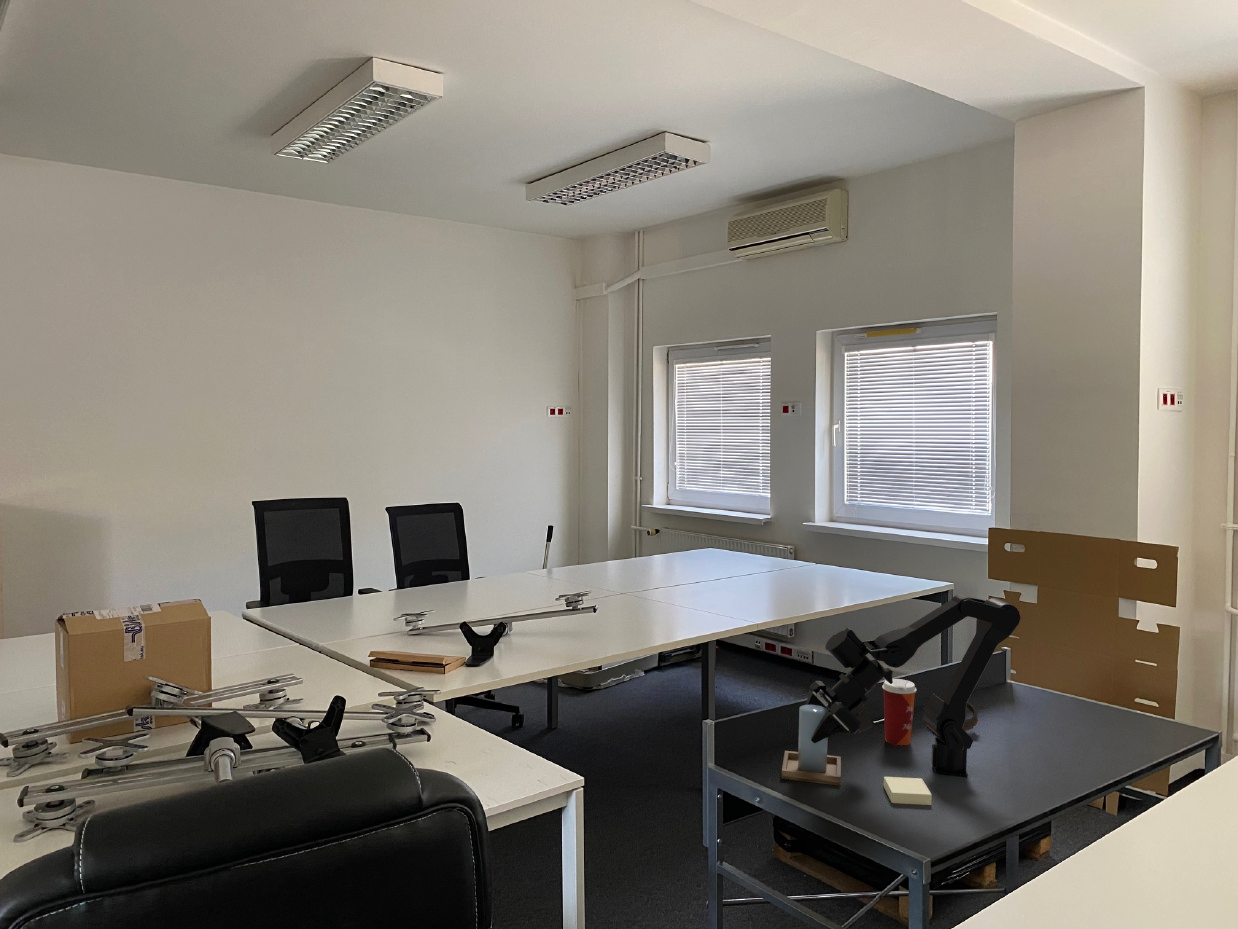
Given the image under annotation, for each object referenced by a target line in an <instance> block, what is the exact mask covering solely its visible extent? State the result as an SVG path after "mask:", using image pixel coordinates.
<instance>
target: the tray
mask: <svg viewBox="0 0 1238 929" xmlns="http://www.w3.org/2000/svg"><path fill="white" fill-rule="evenodd" d="M841 759H842V758H841V756H838V755H829V754H827V771H826V772H825V773H824V774H823V773H814V772H806V771H800V770H799V769H798V751H792V750H791V751H789V750H784V755H783V761H782V766H781V779H782V780H788V779H789V780H791V781H798V782H805V783H807V782H808V783H814V784H815V783H816V784H817V783H818V784H824V785H834V786H841V780H842V779H841V778H842V777H841V776H842V774H841V773H842V770H841V769H842V767H841V766H842V765H841V764H842V760H841Z"/></svg>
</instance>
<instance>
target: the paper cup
mask: <svg viewBox="0 0 1238 929" xmlns="http://www.w3.org/2000/svg"><path fill="white" fill-rule="evenodd" d="M892 680H893V683H892V684H890V683H888V682H887V681H886V680H885V679H884V682H883V684H882V686H881V688H882V689H883V712H884V713H883V717H884V718H883V720H884V738H885V742H886V743H887V742H888V744H890V745H892V746H897V745H901V746H900V747H903V746H902V745H906V746H909V745H910V744H911V737H912V736H911V735H912V727H913V717H914V706H915V705H914V704H915V697H916V696H915V695H916V693H917V687H916V685H915V683H914V682H912V681H910V680H907V679H906V680H905V679H900V678H892Z"/></svg>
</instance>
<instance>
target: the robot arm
mask: <svg viewBox="0 0 1238 929" xmlns="http://www.w3.org/2000/svg"><path fill="white" fill-rule="evenodd" d="M968 617H970V618H972V619H976V620H975V621H976V624H975V635H974V637H973V638H972V640H971V642H970V645H969V646H968V648H967V650H966V651H965V653H964V655H963V657H962V659H961V660H960V663H959V664H958V666H957V668H956V670H955V672H954V674H953V676H952V678H951V680H950V682H949V684H947V688H946V689H945V690H944V691H943V692H942V693H940V694H939V695H938V696H937V695H936V694H935V693H931V695H930V697H929V700H928V703H927V704H926V705H925V706H924V707H923V708H922V709H923V710H924V713H923V721H924V723H925V725H926V726H927V727H928V728H929V729H930V731H931V734H932V735H933V736H934V744H932V745H931V757H930V759H931V761H930V762H931V763H930V764H931V766H932V768H934V771H935V773H936V774H940V775H941V774H942V775H950V776H952V775H953V776H961V777H968V776H969V774H968V771H967V763H968V762H967V761H968V760H967V759H968V750H970V749H971V747H972V744H973V743H974V738H972V736H970V735H969V734H968V733H967V732H966V731H964V730H963V726H964V723H965V720H966V719H967V707H966V705H967V702H969V700H970V698H971V695H973V692H974V690H975V688H976V686H977V685H978V683H979V681H980V680H981V677H982V675H983V673H984V671H985V669H986V668H987V665H988V664H989V662H990V661H991V658H992V657H993V654H994V652H995V650H996V649H997V647H998V646H999V645H1000V644H1002V642H1004V641H1005V640H1007V639H1008V638H1009V637H1010V636H1011V635H1012V634H1013V632H1014V631H1015V630H1016V629H1017V628H1018V626H1019V625H1020V622H1021V620H1022V619H1021V618H1022V616H1021V615H1020V611H1019V609H1018V607H1016V606H1015V605H1013V604H1011V603H1008V602H1006V601H1004V600H1001V599H998V598H994V597H993V598H989V599H986V600H984V599H981V598H976V597H970V596H969V597H968V596H965V595H963V594H957V595H954V596H953V597H951V599H950V600H948V601H947V602H946V603H943V604H942V605H940V606H939V607H937V608H936V609H934V610H933V611H931V612H928V613H927V614H926V615H924V616H923V617H921V618H920V619H918V620H916V621H914V622H913V623H911V624H909V625H907V626H906V627H904V628H897V629H893V630H890V631H888V632H885V633H883V634H880V635H879V636H878V637H875V639H869V640H862V641H861V639H860V638H859V637H858V636H857V634H856V633H855V632H854V631H853V630H852V629H851V628H850V627H846V628H845V629H844V630H841V631H838V632H837V633H836V634H833V635H832V636H831V637H830V638H829V639H828V640H827V641H826V644H825V650H826V651H827V652H828V653H829V654H830V655H831V656H832V657H833V659H835V660H836V662H838V663H839V664H840V666H842V667H843V668H845V669H848V668H851V669H850V670H849V671H848V672H847V673H845V674H844V673H843V672H842V673H841V674H840V675H838V677H839V678H840V680H839V681H838V682H837V683H836V684H835V685H833V687H832V688H831V687H830V686H826V685H825V683H823V681H822V680H814V681H813V683H811V684H810V685H809V688H810V689H809V690H808V695H807V699H806V701H805V705H818V706H822V707H825V708H827V709H828V710H827V711H826V712H825V714H824V716H823V718H822V720H821V721H820V723H819V725H818V727H817V728H816V730H815V732H814V734H813V736H812V738H811V741H812V742H813V743H817V742H819V741H821V740H823V739H825V738H827V737H828V738H829V737H830V736H833V735H835V734H838V733H840V734H847V735H850V734H851V733H852V734H853V735H856V734H857V733H860V734H861V733H863V732H865V731H868V730H870V729H871V728H873V727H874V725H873V723H872V720H871V718H870V715H869V713H868V711H867V709H866V707H865V704H866V703H867V702H868V697H866V695H867V694H868V693H869V692H871V690H873V689H874V688H875V686H877V685H878V684H879V683H880V682H881V680H884V681H885V680H886V681H887V682H888V683H890V684H892V683H893V680H892V679H893V673H894V671H893V670H892V669H891V668H894V669H897V668H900V667H903V666H904V665H905V664H906V663H907V662H908V661H910V660H911V658H913V657H914V656H915V655H916V653H917V652H918V649H919V648H920V647H921V646H923V645H924V644H925V643H928V641H930V640H932V639H933V638H935V637H937V636H939V635H940V634H942V633H943V632H945V631H947V629H950V628H951V627H952V626H954V625H956V624H957V623H959V622H960V621H962V620H964V619H966V618H968ZM867 655H869V656H870V657H871V658H873V659H870V658H869V657H868V656H867ZM880 662H882V663H884V664H885V665H886V666H888V667H884V666H883V664H881V663H880ZM890 667H891V668H890ZM828 738H827V739H828Z"/></svg>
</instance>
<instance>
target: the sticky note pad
mask: <svg viewBox="0 0 1238 929" xmlns="http://www.w3.org/2000/svg"><path fill="white" fill-rule="evenodd" d="M883 788H884V790H885V792H886V794H887V796H888V798H889V801H890V802H891V803H892V804H907V805H923V806H924V805H925V806H927V805H928V806H931V805H932V793H931V791H930V789H929V788H928V786H927V784H926V783H925V781H924V780H923V778H916V777H915V778H914V777H901V776H900V777H898V776H897V777H896V776H895V777H894V776H883Z"/></svg>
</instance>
